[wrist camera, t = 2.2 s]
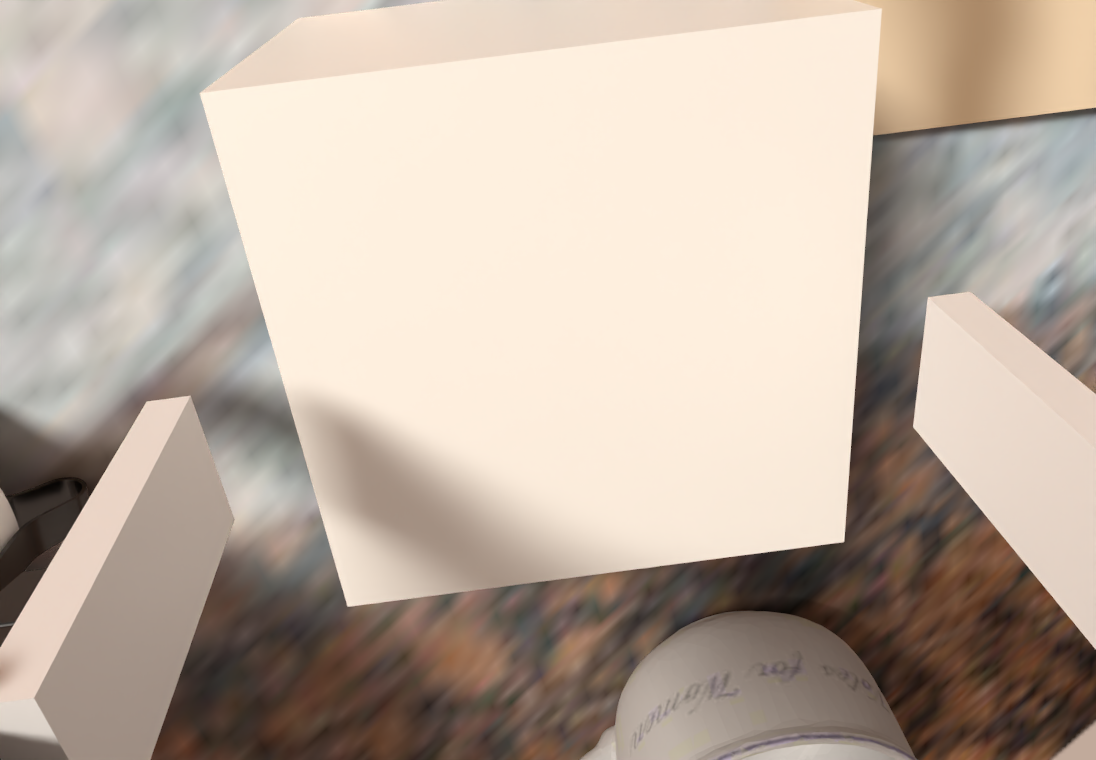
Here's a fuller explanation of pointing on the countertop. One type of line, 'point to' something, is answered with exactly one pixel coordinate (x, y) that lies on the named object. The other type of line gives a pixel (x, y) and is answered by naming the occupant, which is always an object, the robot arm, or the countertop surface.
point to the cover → (560, 277)
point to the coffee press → (36, 522)
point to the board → (982, 61)
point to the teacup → (752, 697)
